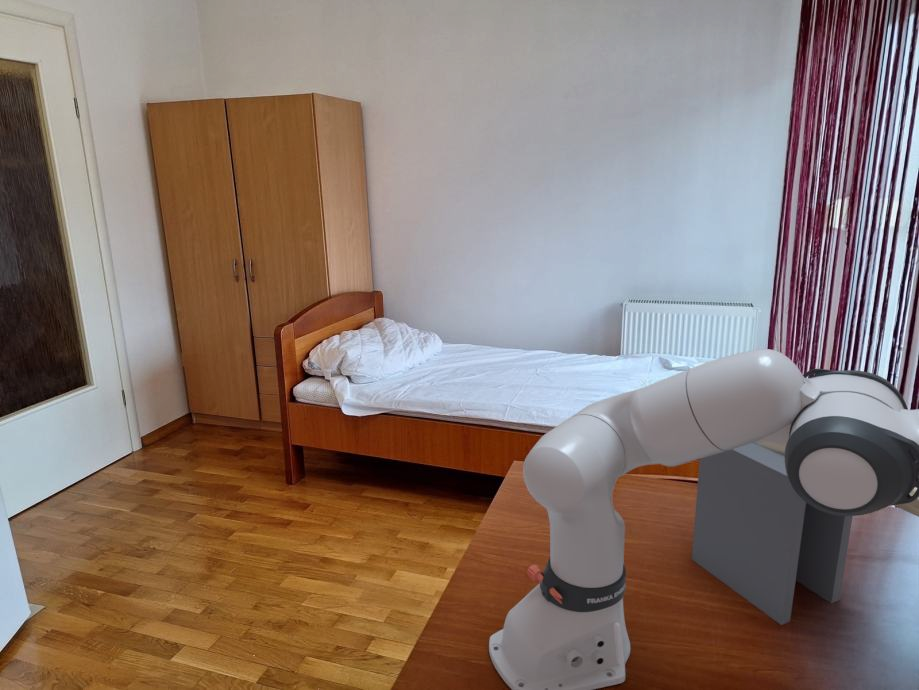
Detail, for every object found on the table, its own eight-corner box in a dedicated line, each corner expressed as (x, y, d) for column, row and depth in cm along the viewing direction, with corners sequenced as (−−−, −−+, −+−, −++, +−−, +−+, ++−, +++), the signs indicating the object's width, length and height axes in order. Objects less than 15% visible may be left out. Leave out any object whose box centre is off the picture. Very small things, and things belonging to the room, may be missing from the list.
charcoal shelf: (781, 625, 102) (799, 482, 95) (691, 559, 120) (701, 434, 113) (839, 600, 108) (861, 462, 101) (745, 540, 125) (758, 420, 118)
